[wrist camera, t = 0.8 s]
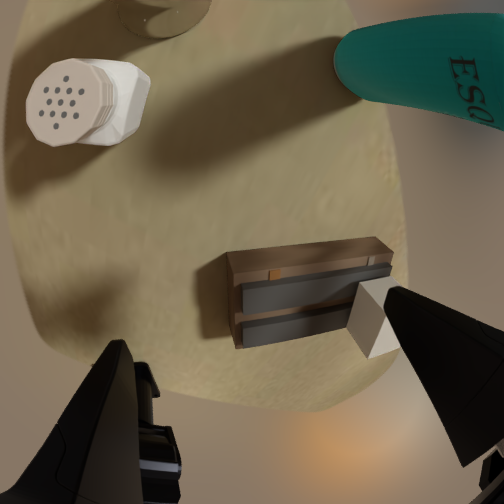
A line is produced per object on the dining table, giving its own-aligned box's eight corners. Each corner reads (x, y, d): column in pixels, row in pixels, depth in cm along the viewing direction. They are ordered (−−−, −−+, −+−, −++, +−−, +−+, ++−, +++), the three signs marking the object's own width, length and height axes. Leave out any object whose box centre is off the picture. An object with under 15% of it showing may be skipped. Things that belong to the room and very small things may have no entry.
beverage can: (356, 114, 19) (538, 174, 6) (310, 56, 16) (510, 41, 3) (397, 76, 18) (564, 109, 5) (358, 20, 15) (535, 3, 2)
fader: (385, 269, 23) (419, 304, 19) (371, 312, 26) (398, 347, 21) (353, 275, 22) (386, 314, 18) (341, 320, 25) (367, 359, 21)
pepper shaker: (97, 69, 13) (30, 48, 5) (154, 76, 15) (128, 50, 7) (83, 126, 15) (10, 154, 7) (138, 134, 16) (100, 165, 8)
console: (375, 236, 25) (399, 256, 22) (358, 302, 29) (375, 325, 26) (226, 252, 22) (235, 280, 19) (229, 325, 26) (237, 356, 23)
